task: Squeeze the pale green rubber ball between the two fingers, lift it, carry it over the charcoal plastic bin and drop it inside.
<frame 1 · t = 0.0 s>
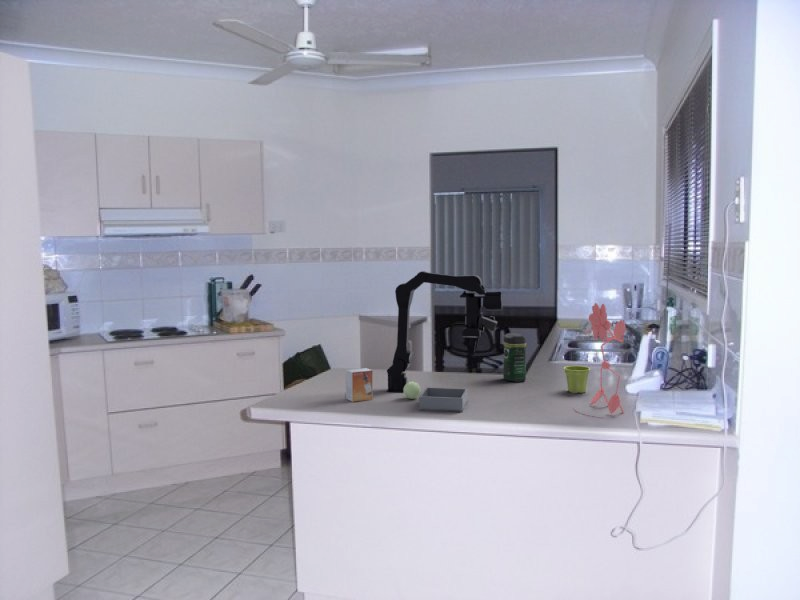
hand: (473, 353, 242), 15 cm above the countertop, tool pointing down, fingers open, 9 cm apart
ball: (412, 398, 236), on the countertop
plant pot: (576, 392, 245), on the countertop
coffee jar: (514, 380, 266), on the countertop
bin: (443, 405, 225), on the countertop
small box: (359, 400, 236), on the countertop
figurine: (596, 411, 217), on the countertop
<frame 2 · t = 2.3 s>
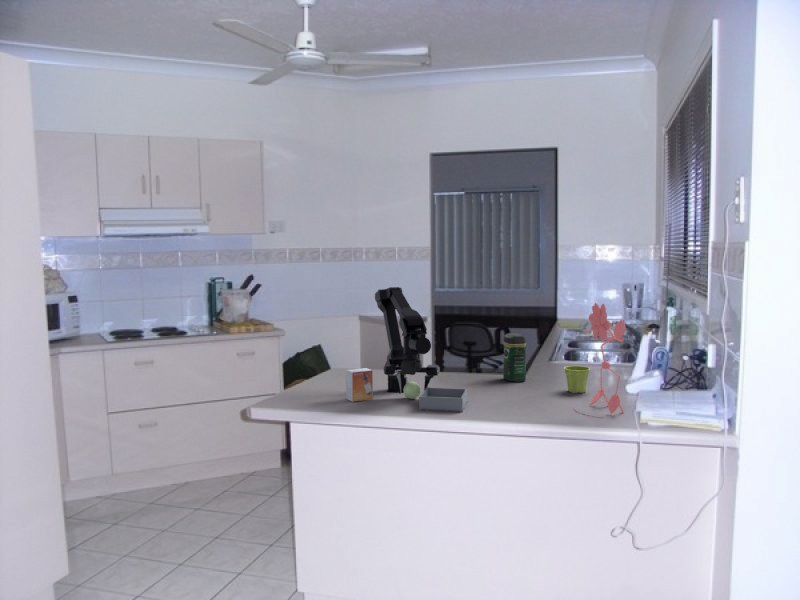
hand: (412, 394, 236), 2 cm above the countertop, tool pointing down, fingers open, 8 cm apart
nothing on the countertop moved.
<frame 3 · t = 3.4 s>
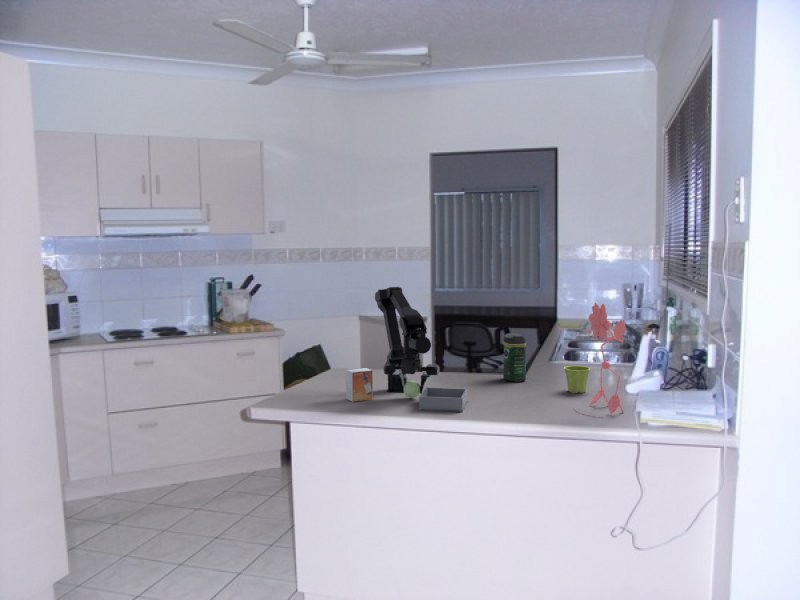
hand: (412, 393, 236), 2 cm above the countertop, tool pointing down, fingers closed on ball, 6 cm apart
ball: (411, 397, 236), on the countertop, touching gripper
everything else where it was.
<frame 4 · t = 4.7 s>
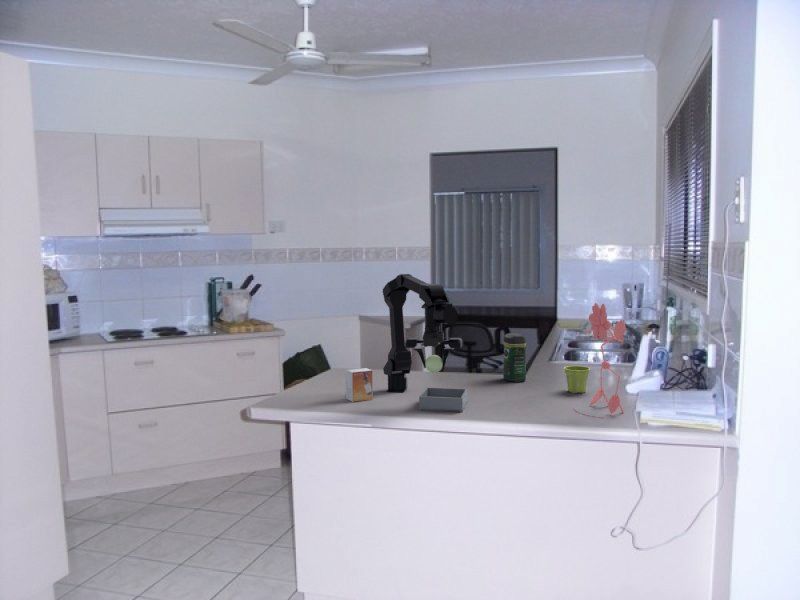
hand: (434, 368, 227), 12 cm above the countertop, tool pointing down, fingers closed on ball, 6 cm apart
ball: (433, 372, 227), point 11 cm above the countertop, touching gripper
everything else where it was.
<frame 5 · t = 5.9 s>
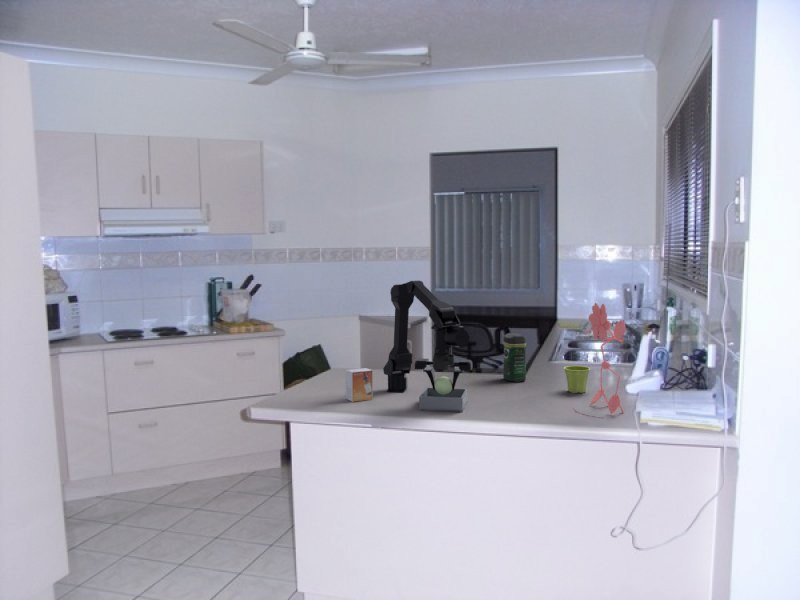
hand: (443, 390, 225), 5 cm above the countertop, tool pointing down, fingers closed on ball, 6 cm apart
ball: (443, 394, 225), point 4 cm above the countertop, touching gripper
everything else where it was.
when the fingers open (3 cm above the countertop, at t = 6.7 s): ball drops 1 cm, resting on bin.
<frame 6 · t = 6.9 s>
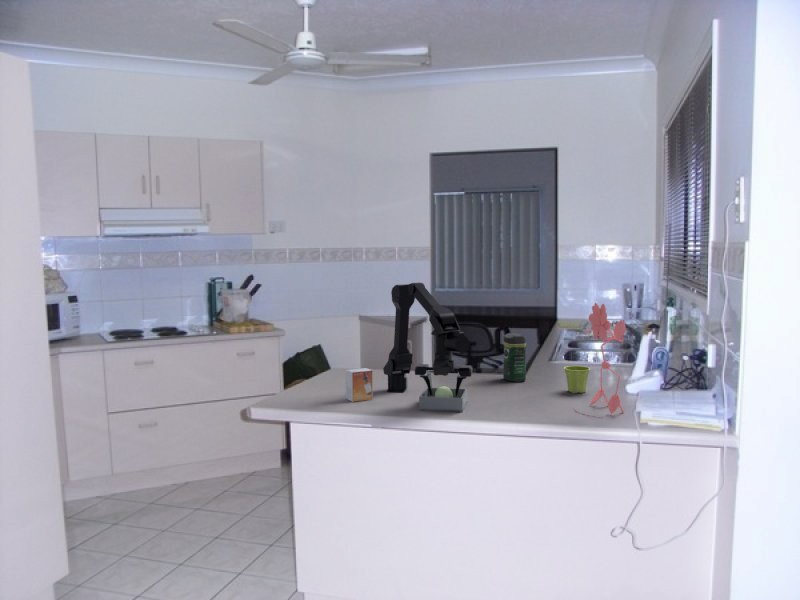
hand: (443, 395, 225), 3 cm above the countertop, tool pointing down, fingers open, 8 cm apart
ball: (443, 404, 225), point 1 cm above the countertop, touching bin
everything else where it was.
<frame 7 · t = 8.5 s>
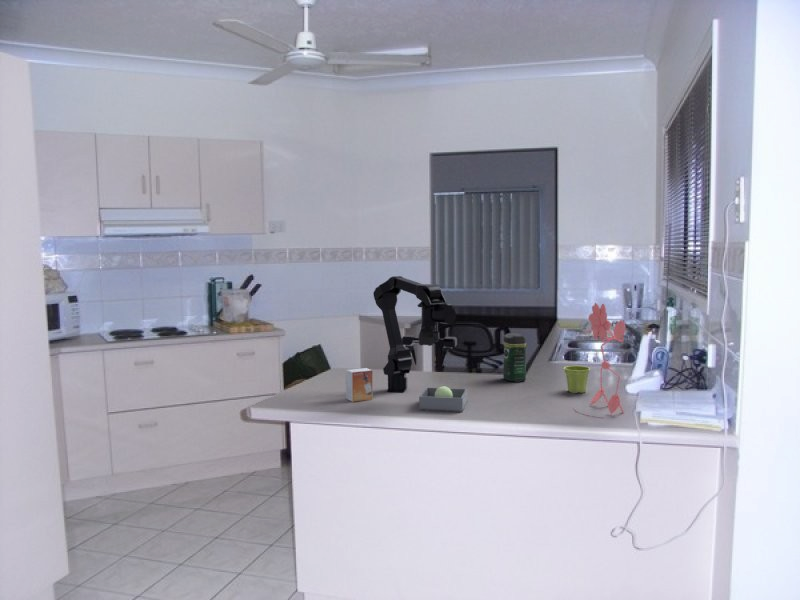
hand: (429, 365, 235), 12 cm above the countertop, tool pointing down, fingers open, 9 cm apart
nothing on the countertop moved.
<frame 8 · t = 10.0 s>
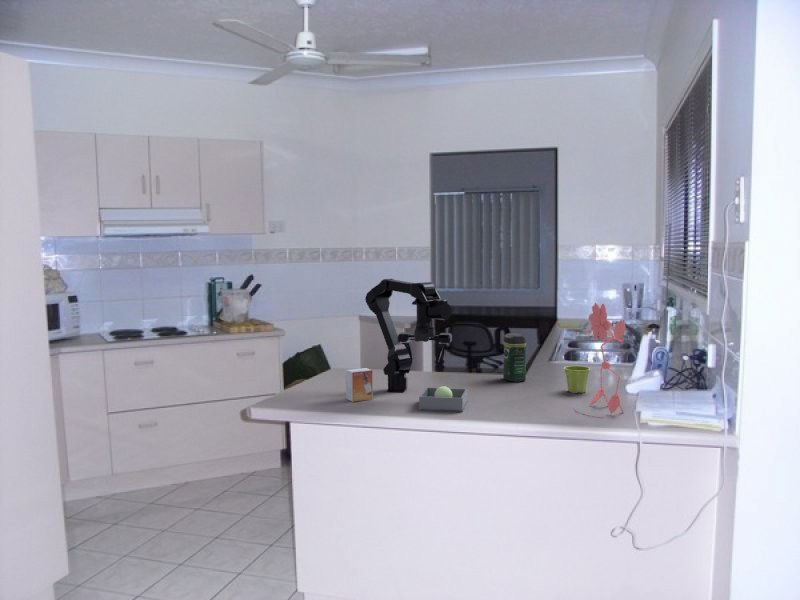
hand: (425, 361, 238), 13 cm above the countertop, tool pointing down, fingers open, 9 cm apart
nothing on the countertop moved.
at the end: ball inside the target area on the bin (0.2 cm from its centre), point 0.6 cm above the bin's base; the gripper is holding nothing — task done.
